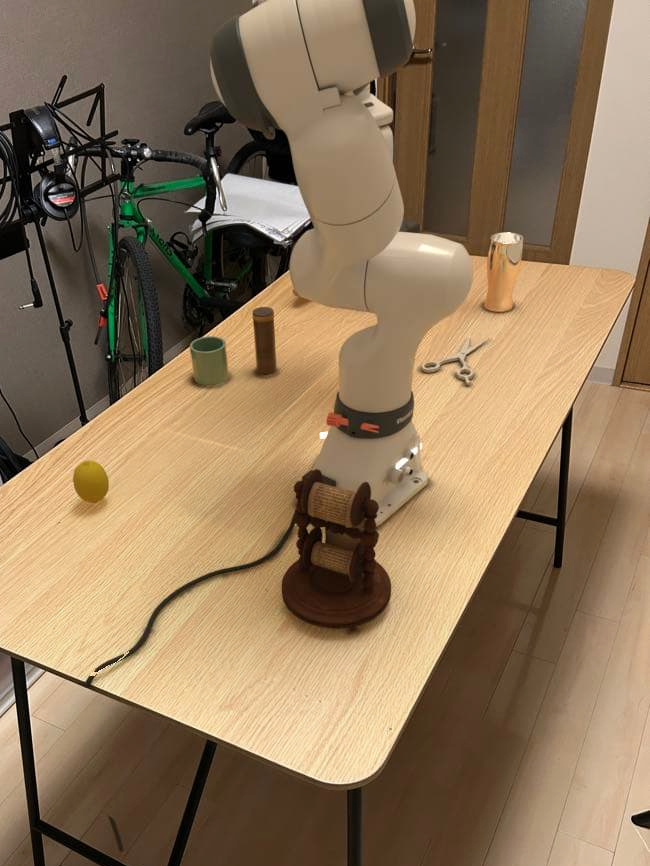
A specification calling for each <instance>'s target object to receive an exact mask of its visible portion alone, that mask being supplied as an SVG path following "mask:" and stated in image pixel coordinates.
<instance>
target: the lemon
mask: <svg viewBox="0 0 650 866" xmlns="http://www.w3.org/2000/svg"><path fill="white" fill-rule="evenodd" d="M72 476H73V477H72V482H73V488H74V490H75V493H76V495H77V496H78V497H79V499H81V500H82V501H84V502H87V503H94V504H96V503H98V502H100V501H102V500H103V499H104V498H105V497H106V496H107V494H108V491H109V487H110V486H109V484H110V483H109V482H110V481H109V476H108V474H107V472H106V470H105V468H104V466H102V465H101V464H100V463H98V461H94V460H84V461H81V462H80V463H79V464H78V465H76V467H75V468H74V472H73V475H72Z"/></svg>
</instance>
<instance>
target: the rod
mask: <svg viewBox="0 0 650 866" xmlns="http://www.w3.org/2000/svg"><path fill="white" fill-rule="evenodd" d="M274 312H275V311H274V309H273V308H271V307H269V306H260V307H256V308H254V309H253V310H252V312H251V313H252V321H253V322H252V323H253V324H252V325H253V338H254V349H255V350H254V351H255V364H256V365H255V366H256V372H257V374H259V375H262V376H269V375H270V376H271V375H274V374H276V372H277V368H278V366H277V350H276V348H277V347H276V330H275V313H274Z"/></svg>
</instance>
